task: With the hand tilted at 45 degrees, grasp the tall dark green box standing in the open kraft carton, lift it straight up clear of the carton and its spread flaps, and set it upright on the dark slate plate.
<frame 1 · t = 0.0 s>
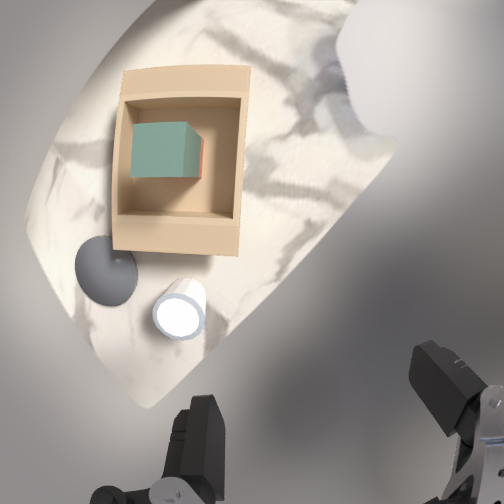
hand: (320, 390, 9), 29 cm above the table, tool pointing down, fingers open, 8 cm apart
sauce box: (183, 158, 33), point 1 cm above the table, touching carton
white cup: (187, 294, 39), on the table
carton: (184, 158, 34), on the table
slate plate: (106, 270, 38), on the table
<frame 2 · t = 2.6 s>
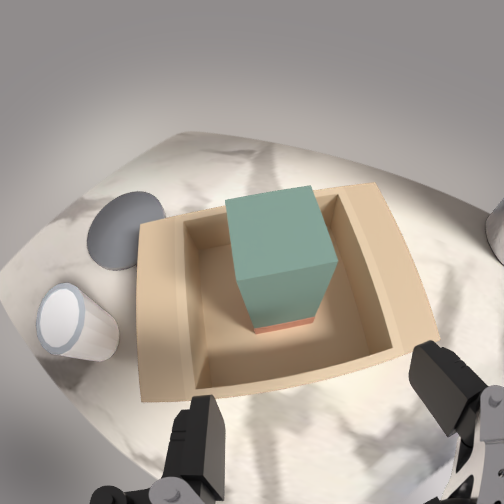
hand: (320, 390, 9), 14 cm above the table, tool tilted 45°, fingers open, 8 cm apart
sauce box: (278, 302, 25), point 1 cm above the table, touching carton
white cup: (100, 337, 25), on the table
carton: (278, 305, 25), on the table
slate plate: (125, 230, 31), on the table
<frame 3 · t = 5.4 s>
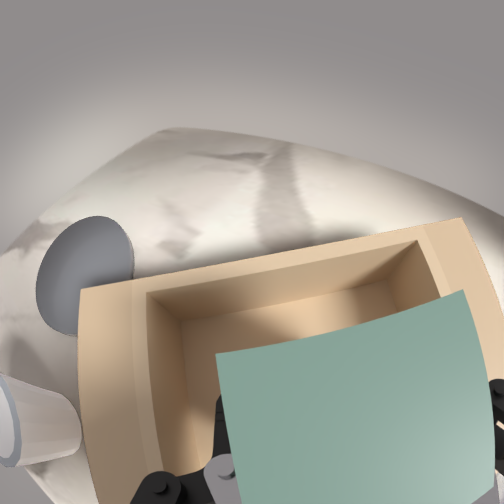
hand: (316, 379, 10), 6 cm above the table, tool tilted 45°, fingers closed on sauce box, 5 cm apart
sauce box: (310, 411, 13), point 1 cm above the table, touching carton, gripper
white cup: (59, 423, 14), on the table
carton: (309, 410, 14), on the table
slate plate: (82, 274, 20), on the table
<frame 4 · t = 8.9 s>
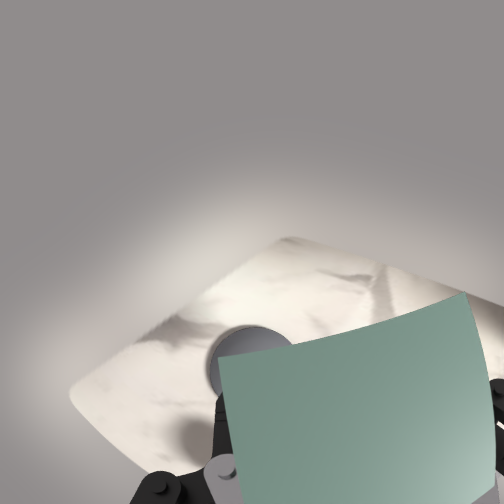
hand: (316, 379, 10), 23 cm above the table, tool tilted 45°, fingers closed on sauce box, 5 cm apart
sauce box: (311, 412, 13), point 18 cm above the table, touching gripper
slate plate: (255, 371, 31), on the table
when the fingers open (8 cm above the table, at t = 12.6 s): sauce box drops 1 cm, resting on slate plate.
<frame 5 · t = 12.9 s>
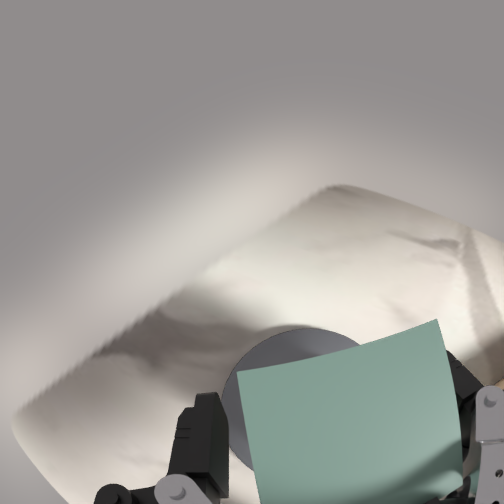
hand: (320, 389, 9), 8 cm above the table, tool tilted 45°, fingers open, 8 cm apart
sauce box: (309, 412, 15), point 1 cm above the table, touching slate plate
slate plate: (305, 408, 16), on the table
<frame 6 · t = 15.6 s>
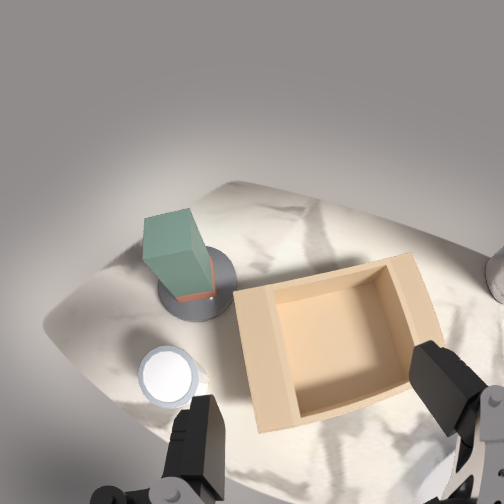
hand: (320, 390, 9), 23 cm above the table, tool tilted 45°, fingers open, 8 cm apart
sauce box: (196, 282, 36), point 1 cm above the table, touching slate plate
white cup: (187, 381, 31), on the table
carton: (339, 346, 31), on the table
slate plate: (197, 283, 37), on the table
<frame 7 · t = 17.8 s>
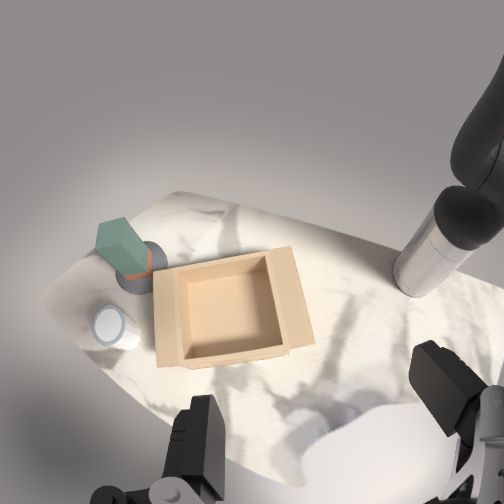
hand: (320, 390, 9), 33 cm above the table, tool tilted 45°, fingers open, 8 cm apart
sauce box: (140, 266, 49), point 1 cm above the table, touching slate plate
white cup: (128, 335, 44), on the table
carton: (232, 317, 44), on the table
slate plate: (141, 268, 50), on the table
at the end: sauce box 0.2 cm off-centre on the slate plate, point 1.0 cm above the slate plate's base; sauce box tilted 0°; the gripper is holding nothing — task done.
